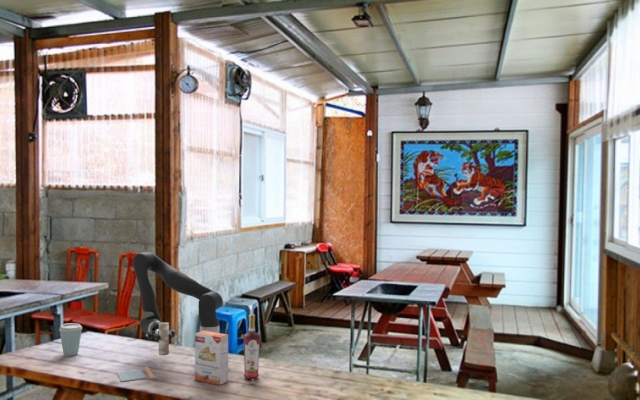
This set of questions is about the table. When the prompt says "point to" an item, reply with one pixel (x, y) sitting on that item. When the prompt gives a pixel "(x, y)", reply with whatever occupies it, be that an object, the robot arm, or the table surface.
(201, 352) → the cracker box
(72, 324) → the disposable coffee cup
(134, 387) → the table surface
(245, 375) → the liquor
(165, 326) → the beige tall cylinder
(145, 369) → the orange long flat bar
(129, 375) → the mat
